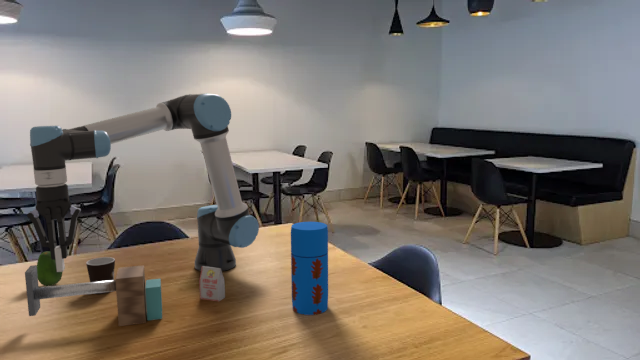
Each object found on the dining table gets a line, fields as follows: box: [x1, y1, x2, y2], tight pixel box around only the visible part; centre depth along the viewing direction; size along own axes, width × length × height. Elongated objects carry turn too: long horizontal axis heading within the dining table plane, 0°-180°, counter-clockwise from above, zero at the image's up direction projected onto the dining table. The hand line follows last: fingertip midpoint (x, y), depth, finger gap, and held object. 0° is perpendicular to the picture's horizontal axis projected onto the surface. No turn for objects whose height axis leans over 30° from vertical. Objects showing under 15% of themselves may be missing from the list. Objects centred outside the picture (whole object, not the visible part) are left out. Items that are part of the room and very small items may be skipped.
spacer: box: [145, 278, 163, 322], centre depth 146 cm, size 4×7×10 cm, turn 17°
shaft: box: [24, 264, 116, 317], centre depth 140 cm, size 26×6×12 cm, turn 107°
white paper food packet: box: [198, 266, 226, 302], centre depth 159 cm, size 4×7×10 cm, turn 70°
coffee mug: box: [85, 256, 116, 295], centre depth 167 cm, size 12×9×10 cm
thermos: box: [290, 221, 329, 316], centre depth 149 cm, size 11×11×25 cm
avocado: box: [36, 250, 64, 287], centre depth 170 cm, size 8×8×12 cm
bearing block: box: [115, 265, 147, 327], centre depth 144 cm, size 7×10×14 cm
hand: (60, 270), depth 138 cm, fingers closed
